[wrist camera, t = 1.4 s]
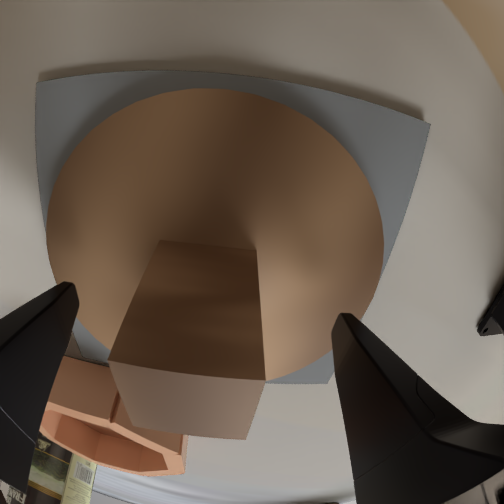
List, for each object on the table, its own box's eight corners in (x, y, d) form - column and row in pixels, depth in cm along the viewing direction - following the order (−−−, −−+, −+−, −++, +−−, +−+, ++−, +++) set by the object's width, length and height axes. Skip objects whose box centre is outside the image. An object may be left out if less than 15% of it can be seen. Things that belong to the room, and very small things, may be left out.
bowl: (184, 380, 15) (177, 433, 12) (189, 449, 21) (187, 483, 18) (17, 340, 14) (-4, 378, 11) (69, 422, 20) (59, 451, 17)
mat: (424, 122, 8) (430, 124, 8) (325, 378, 16) (327, 383, 15) (42, 82, 7) (36, 82, 7) (84, 351, 14) (82, 357, 14)
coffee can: (20, 425, 24) (-4, 506, 12) (41, 419, 21) (12, 523, 9) (79, 461, 28) (64, 537, 16) (114, 460, 26) (99, 555, 13)
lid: (416, 132, 8) (545, 194, 3) (321, 378, 15) (340, 473, 10) (45, 93, 7) (-85, 130, 2) (87, 352, 14) (54, 441, 9)
